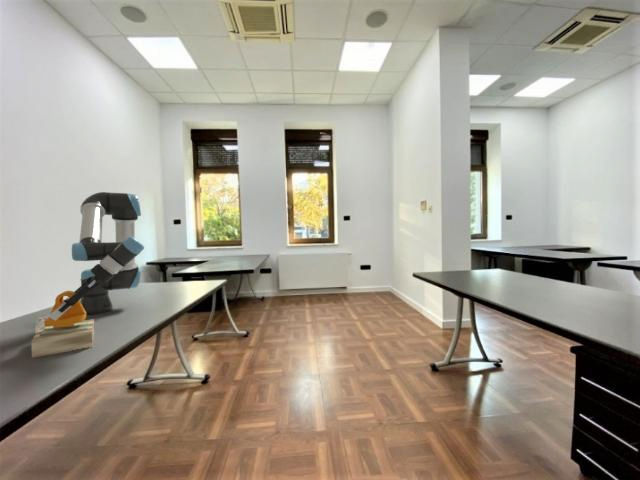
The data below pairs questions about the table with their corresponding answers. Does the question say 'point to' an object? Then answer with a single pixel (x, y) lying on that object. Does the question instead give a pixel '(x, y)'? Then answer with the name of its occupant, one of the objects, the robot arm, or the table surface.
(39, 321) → the white bone skull
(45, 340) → the riser stand
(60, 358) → the table surface
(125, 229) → the robot arm
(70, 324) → the bracket
